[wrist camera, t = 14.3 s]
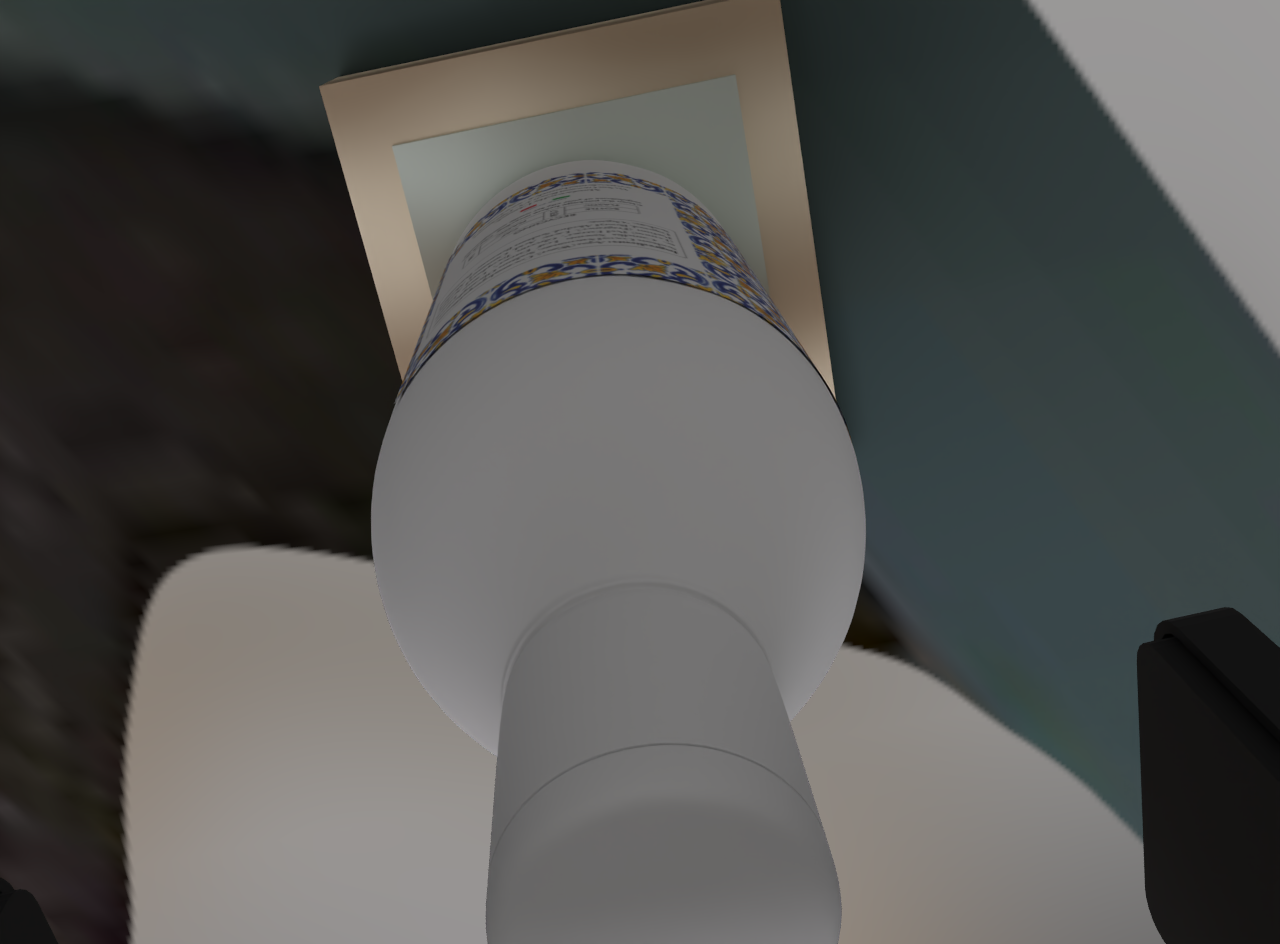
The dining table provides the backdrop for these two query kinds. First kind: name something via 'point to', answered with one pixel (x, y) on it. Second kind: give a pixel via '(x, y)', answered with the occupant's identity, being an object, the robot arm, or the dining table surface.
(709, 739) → the bath foam
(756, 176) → the plinth
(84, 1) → the dining table surface
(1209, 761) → the robot arm
